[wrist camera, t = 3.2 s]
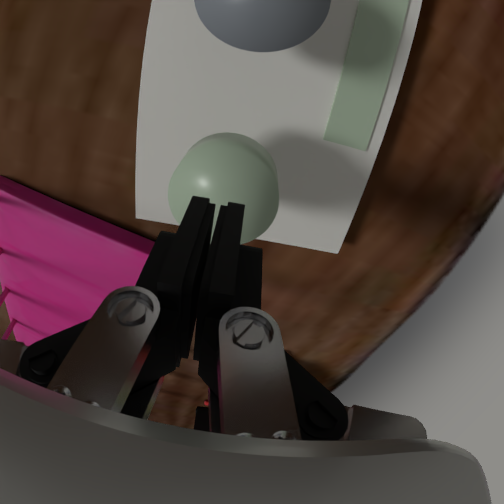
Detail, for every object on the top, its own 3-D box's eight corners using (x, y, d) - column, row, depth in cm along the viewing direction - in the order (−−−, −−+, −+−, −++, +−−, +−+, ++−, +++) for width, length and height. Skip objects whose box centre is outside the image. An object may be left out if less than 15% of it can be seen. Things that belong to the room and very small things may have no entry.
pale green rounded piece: (192, 117, 13) (171, 139, 11) (285, 133, 14) (291, 159, 11) (183, 198, 16) (165, 236, 13) (266, 212, 16) (265, 254, 14)
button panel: (210, -152, 4) (205, -164, 3) (427, -103, 5) (439, -110, 4) (143, 206, 20) (134, 219, 18) (334, 240, 21) (338, 255, 20)
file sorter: (187, 251, 22) (126, 475, 10) (135, 385, 36) (109, 493, 24) (0, 172, 18) (-127, 309, 6) (22, 335, 32) (-21, 430, 20)
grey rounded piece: (221, -42, 8) (207, -66, 6) (323, -24, 9) (341, -44, 6) (203, 43, 11) (183, 43, 8) (303, 60, 12) (315, 65, 9)
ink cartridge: (196, 405, 38) (188, 457, 32) (213, 407, 38) (206, 460, 32) (196, 418, 41) (189, 465, 35) (211, 420, 41) (206, 468, 35)
